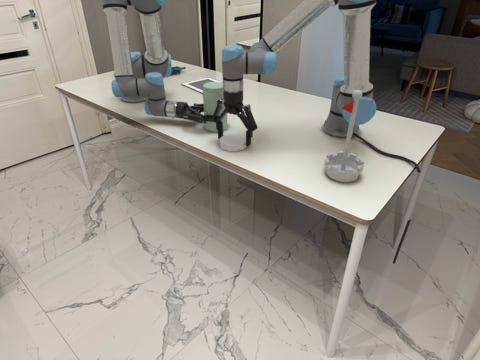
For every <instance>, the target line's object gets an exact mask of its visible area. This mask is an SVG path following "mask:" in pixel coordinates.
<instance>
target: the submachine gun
mask: <svg viewBox="0 0 480 360" xmlns="http://www.w3.org/2000/svg"><path fill="white" fill-rule="evenodd" d="M186 69H187V68H186V66H183V67H181V66H178V65H176V66H171V75H173V74H179V73H181V72H182V71H183V70H186Z"/></svg>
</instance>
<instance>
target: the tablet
mask: <svg viewBox="0 0 480 360" xmlns="http://www.w3.org/2000/svg"><path fill="white" fill-rule="evenodd" d="M208 82H221V81H219V80H217V79H214V78H212V77H204V78H200V79H197V80H192V81H188V82H184V83H181V85H182V86H185V87H187V88H189V89H192V90H194V91H195V92H198V93H201V94H203V85H204V84H205V83H208Z"/></svg>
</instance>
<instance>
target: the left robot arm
mask: <svg viewBox="0 0 480 360" xmlns="http://www.w3.org/2000/svg"><path fill="white" fill-rule="evenodd" d="M163 5H165V0H102V10H103V12H104V13H105V15H106V21H107V27H108V34H109V40H110V42H109V43H110V47H111V55H112V61H113V69H114V78H115V79H112V80H111V82H110V83H111V84H110V85H111V91H112V94H113V96H114V97H115V98H121V100H122V101H124V102H125V103H141V102H142V103H143V102H144V112H145V114H147V115H149V116H153V117H162V118H164V117H165V118H172V119H179V120H180V119H181V120H187V121H192V122H196V123H200V124H205V123H206V121H210V122H215V121H212V116H213V115H206V116H205V115H204V104H203V103H197V102H196V103H195V102H194V103H193V105H189V103H188V102H186V101H178V100H167V99H166V89H165V81H164V78H169V77H170V76H171V75H172V74H171V67H172V55H171V53H168V51H167V50H166V49H165V46H164V39H163V32H162V24H161V17H160V11H161V10H162V8H163V7H162V6H163ZM128 6H134V9H135V11H136V12H137V13H138V14H139V18H140V23H141V28H142V34H143V39H144V44H145V49H146V51H145V52H144V54H142V53H141V52H140V51H131V46H130V45H131V44H130V39H129V30H128V23H127V15H126V14H127V13H128ZM218 117H219V116H218ZM220 122H221V121H220Z"/></svg>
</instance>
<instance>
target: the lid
mask: <svg viewBox="0 0 480 360" xmlns="http://www.w3.org/2000/svg"><path fill="white" fill-rule="evenodd" d="M219 147H220V148H221V149H222V150H224V151H228V152H239V151H243V150H245V149H246V148H248V147H247V146H246V134H245V135H244V134H242V133H238V132H237V133H234V132H233V133H227V134H223V136H222V137H221V138H220V139H219Z"/></svg>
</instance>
